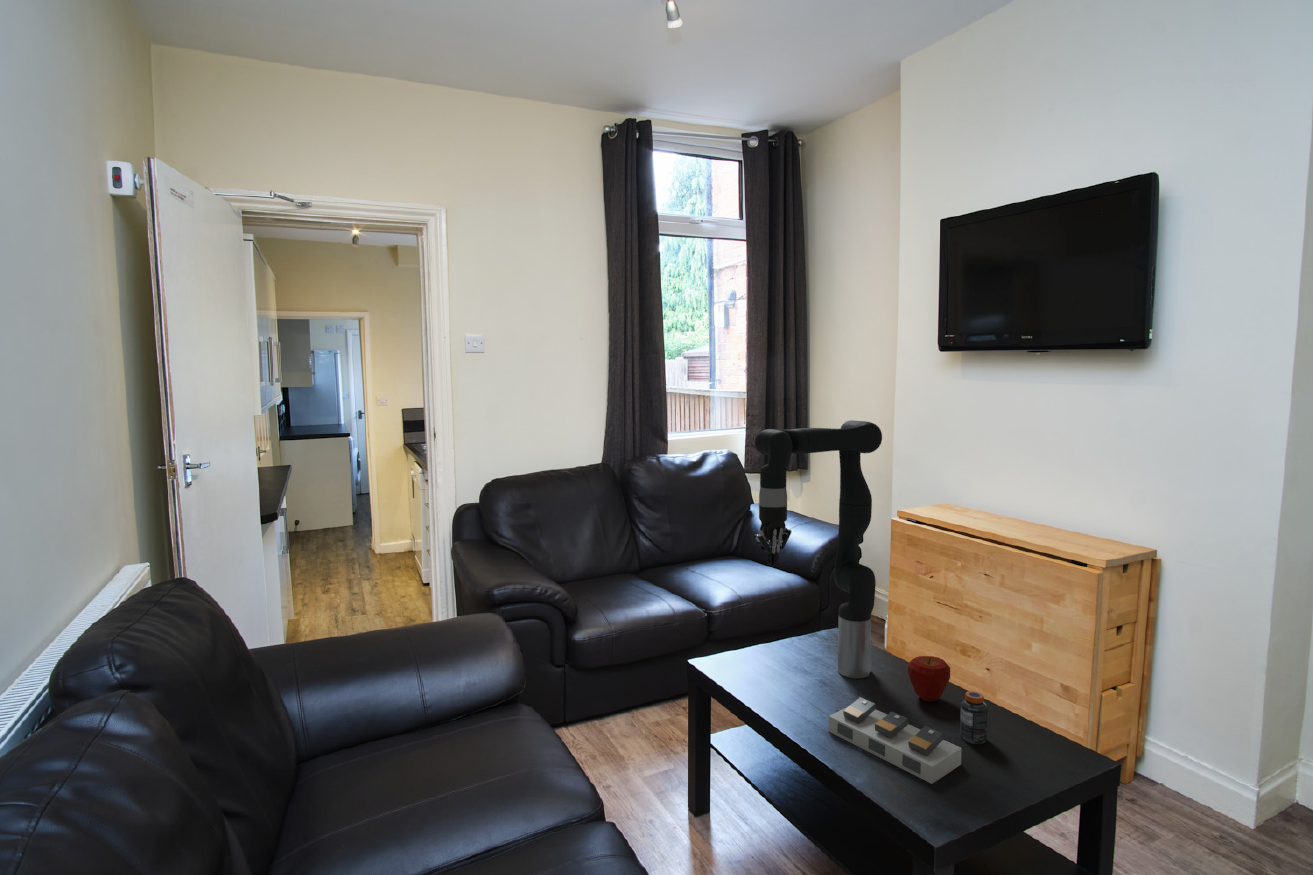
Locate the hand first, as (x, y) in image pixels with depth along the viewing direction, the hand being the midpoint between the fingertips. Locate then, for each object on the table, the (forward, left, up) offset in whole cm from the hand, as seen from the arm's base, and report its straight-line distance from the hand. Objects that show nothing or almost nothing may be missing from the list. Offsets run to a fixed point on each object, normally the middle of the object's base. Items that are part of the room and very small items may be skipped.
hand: (772, 565), depth 187 cm
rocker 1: (-3, +27, -33) cm, 43 cm away
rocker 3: (-3, +45, -33) cm, 56 cm away
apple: (-32, +28, -37) cm, 56 cm away
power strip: (-3, +36, -37) cm, 52 cm away
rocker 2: (-3, +36, -33) cm, 49 cm away
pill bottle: (-22, +46, -37) cm, 63 cm away
